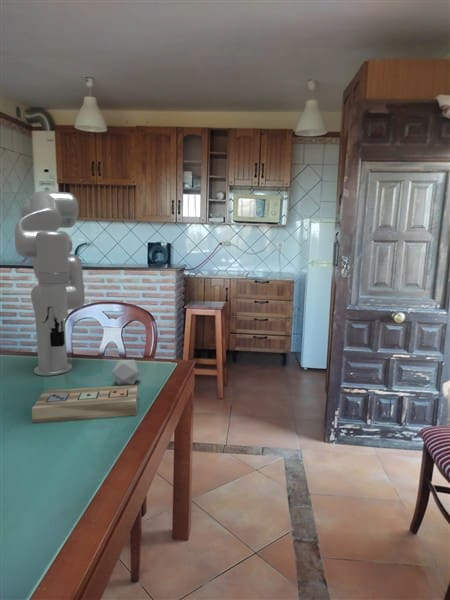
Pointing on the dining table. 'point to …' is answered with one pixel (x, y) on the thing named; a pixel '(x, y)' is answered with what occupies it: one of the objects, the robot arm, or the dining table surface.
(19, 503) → the dining table surface
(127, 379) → the die
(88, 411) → the button board
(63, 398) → the button three
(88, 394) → the button one
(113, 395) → the button two
